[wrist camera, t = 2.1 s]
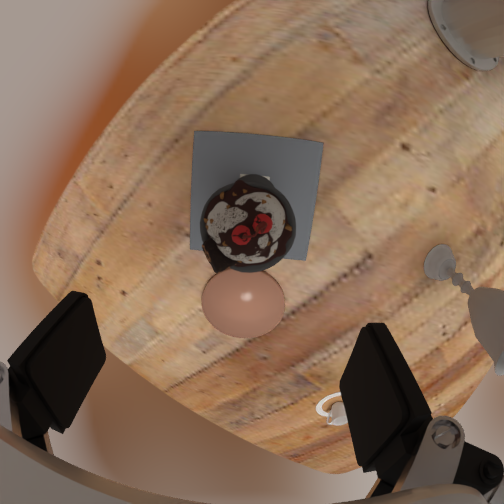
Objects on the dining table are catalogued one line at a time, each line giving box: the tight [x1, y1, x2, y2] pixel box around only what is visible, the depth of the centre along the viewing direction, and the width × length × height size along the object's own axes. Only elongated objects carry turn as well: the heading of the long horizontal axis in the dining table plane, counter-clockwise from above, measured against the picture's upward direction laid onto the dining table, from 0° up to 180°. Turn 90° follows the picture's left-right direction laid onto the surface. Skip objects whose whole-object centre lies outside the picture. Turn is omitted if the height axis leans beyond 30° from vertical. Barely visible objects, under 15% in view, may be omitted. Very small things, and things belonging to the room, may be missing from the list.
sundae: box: [200, 174, 296, 273], centre depth 21 cm, size 7×7×15 cm
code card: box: [190, 131, 323, 261], centre depth 28 cm, size 13×13×1 cm
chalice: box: [424, 244, 504, 375], centre depth 22 cm, size 7×7×18 cm
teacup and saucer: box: [316, 392, 348, 425], centre depth 40 cm, size 9×8×4 cm
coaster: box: [202, 268, 285, 338], centre depth 33 cm, size 10×10×1 cm
